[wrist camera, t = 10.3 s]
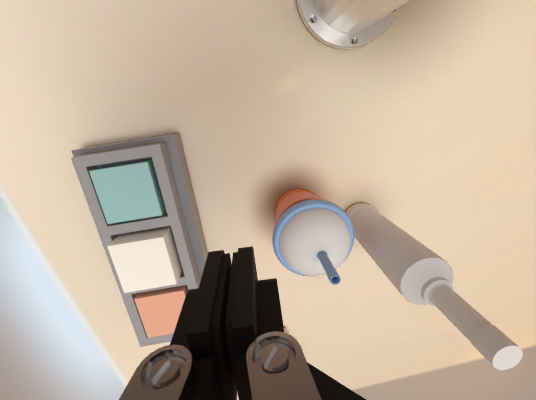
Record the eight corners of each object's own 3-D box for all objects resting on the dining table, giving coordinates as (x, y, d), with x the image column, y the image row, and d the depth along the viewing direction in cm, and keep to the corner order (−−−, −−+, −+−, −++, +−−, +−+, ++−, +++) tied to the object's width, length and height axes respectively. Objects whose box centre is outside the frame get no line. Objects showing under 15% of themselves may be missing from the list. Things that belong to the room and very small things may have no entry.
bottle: (350, 239, 43) (482, 399, 19) (335, 212, 41) (458, 351, 18) (381, 222, 43) (553, 364, 19) (366, 194, 41) (535, 311, 17)
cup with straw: (336, 222, 42) (399, 300, 25) (280, 246, 42) (305, 339, 25) (315, 167, 39) (370, 212, 22) (255, 194, 40) (264, 258, 23)
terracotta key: (142, 285, 39) (134, 299, 36) (188, 277, 39) (183, 290, 36) (154, 322, 41) (147, 338, 38) (198, 314, 41) (194, 329, 39)
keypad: (85, 147, 36) (58, 153, 31) (179, 132, 36) (168, 136, 31) (146, 323, 45) (133, 351, 39) (221, 310, 45) (218, 336, 40)
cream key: (118, 235, 35) (107, 246, 32) (169, 226, 35) (163, 237, 32) (133, 279, 37) (124, 293, 34) (182, 270, 37) (176, 284, 34)
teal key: (102, 165, 34) (89, 171, 31) (155, 157, 34) (147, 161, 31) (118, 215, 36) (107, 224, 33) (168, 206, 36) (162, 215, 33)
